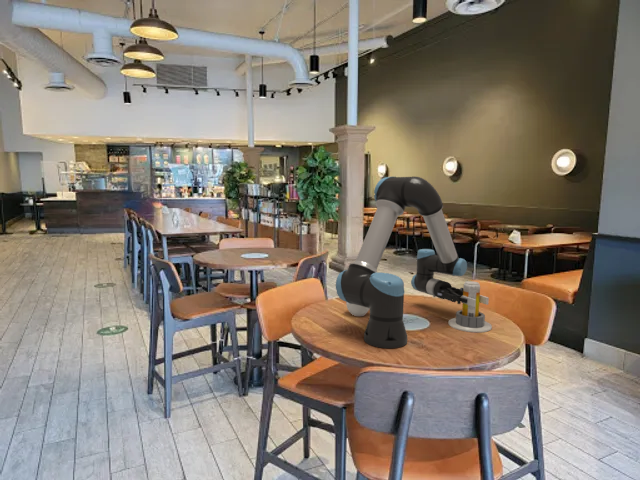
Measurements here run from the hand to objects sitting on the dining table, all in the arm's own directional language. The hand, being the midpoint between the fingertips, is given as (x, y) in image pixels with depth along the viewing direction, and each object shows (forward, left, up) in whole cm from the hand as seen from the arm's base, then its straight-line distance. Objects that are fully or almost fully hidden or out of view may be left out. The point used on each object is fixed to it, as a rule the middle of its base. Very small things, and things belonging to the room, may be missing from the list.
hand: (481, 302), depth 160 cm
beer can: (+2, +5, -9) cm, 10 cm away
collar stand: (+2, +5, -11) cm, 12 cm away
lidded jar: (-14, +47, -11) cm, 50 cm away
